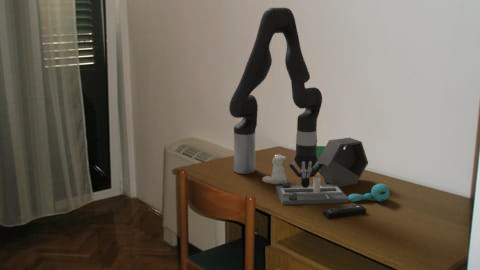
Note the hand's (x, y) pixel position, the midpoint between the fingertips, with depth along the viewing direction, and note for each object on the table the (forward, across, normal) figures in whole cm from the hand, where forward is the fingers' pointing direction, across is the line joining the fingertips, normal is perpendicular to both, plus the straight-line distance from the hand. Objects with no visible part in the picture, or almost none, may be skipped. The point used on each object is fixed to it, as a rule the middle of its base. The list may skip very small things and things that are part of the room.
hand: (305, 187), depth 187 cm
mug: (+4, -12, -32) cm, 35 cm away
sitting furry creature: (+4, +8, -17) cm, 19 cm away
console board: (+4, -2, 0) cm, 4 cm away
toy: (+4, -23, +6) cm, 24 cm away
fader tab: (+2, -4, 0) cm, 5 cm away
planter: (+4, -18, -14) cm, 23 cm away
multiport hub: (+4, -10, +18) cm, 21 cm away
